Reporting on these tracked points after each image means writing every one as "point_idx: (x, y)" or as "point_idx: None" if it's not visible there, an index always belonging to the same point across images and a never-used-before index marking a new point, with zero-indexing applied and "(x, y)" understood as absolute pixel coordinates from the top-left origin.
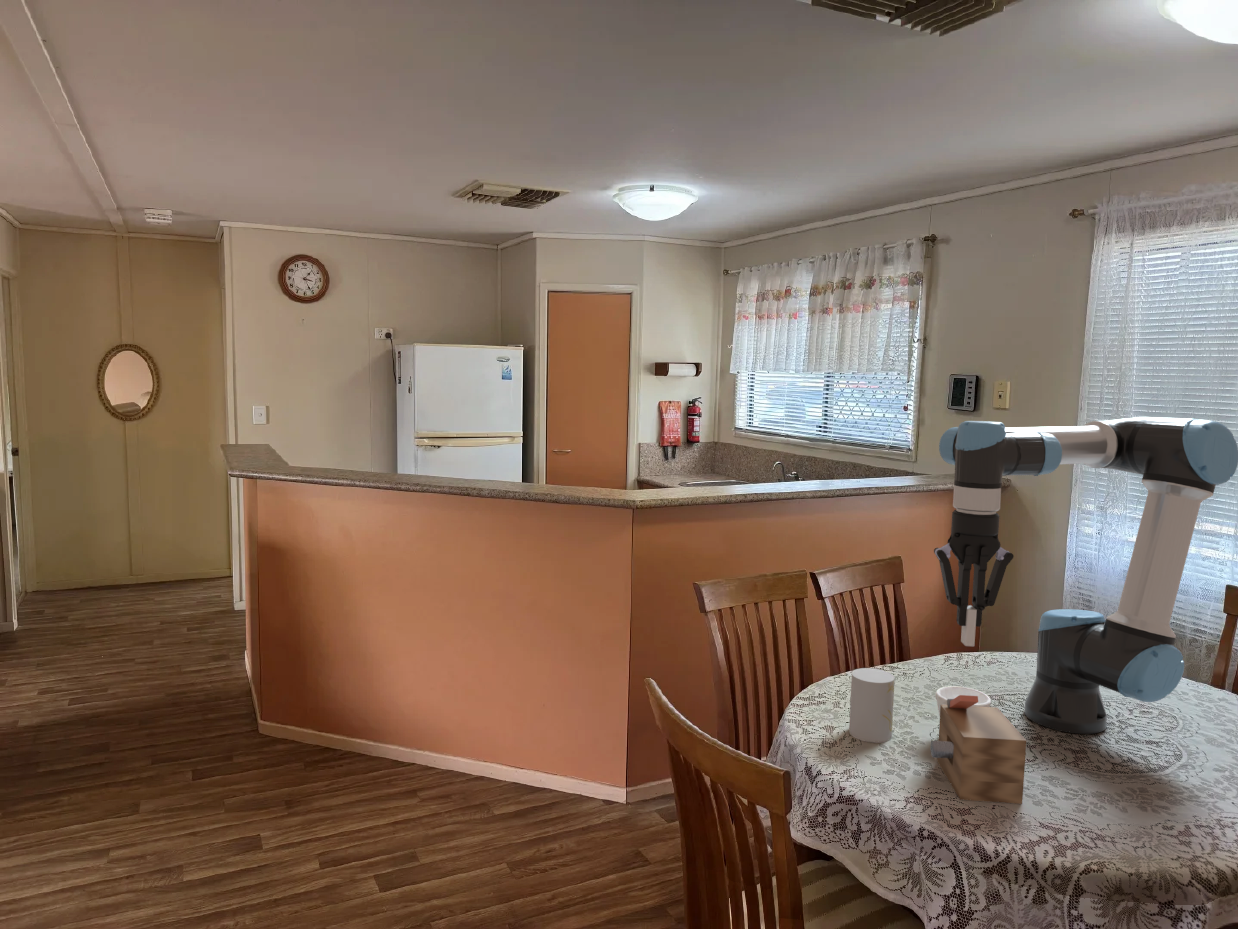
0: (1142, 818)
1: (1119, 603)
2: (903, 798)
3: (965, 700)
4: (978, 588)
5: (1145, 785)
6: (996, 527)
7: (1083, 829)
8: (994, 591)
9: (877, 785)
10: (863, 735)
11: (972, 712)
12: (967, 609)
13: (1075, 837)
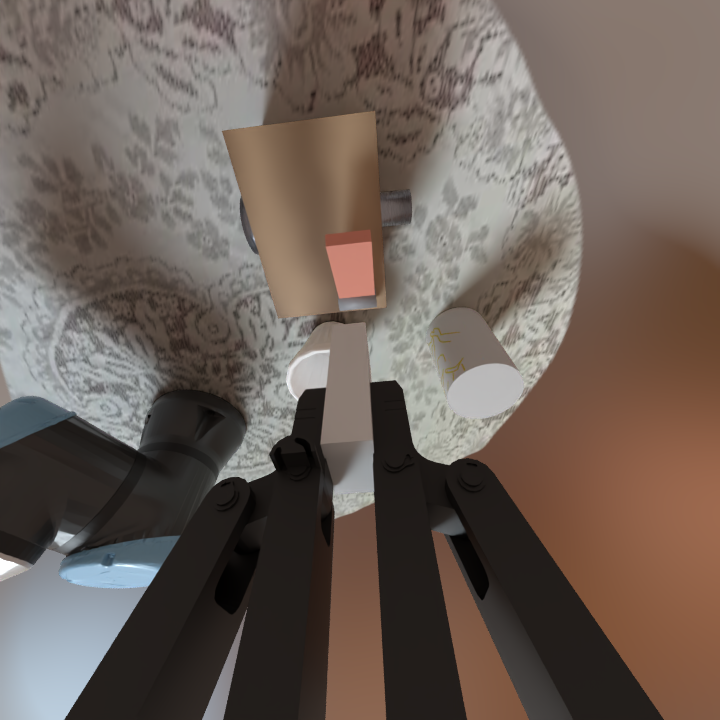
0: (64, 125)
1: None
2: (472, 91)
3: (357, 232)
4: (298, 612)
5: (82, 260)
6: None
7: (154, 33)
8: (173, 594)
9: (503, 141)
10: (475, 313)
11: (329, 280)
12: (372, 443)
13: None
